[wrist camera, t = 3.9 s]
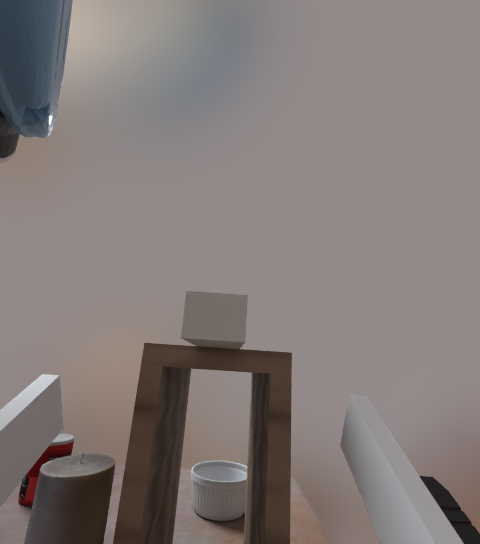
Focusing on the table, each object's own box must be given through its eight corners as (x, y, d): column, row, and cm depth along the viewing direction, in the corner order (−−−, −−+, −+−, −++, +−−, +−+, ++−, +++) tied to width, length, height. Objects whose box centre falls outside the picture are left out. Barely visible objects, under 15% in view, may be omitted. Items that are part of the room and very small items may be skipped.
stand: (287, 832, 19) (291, 352, 28) (69, 823, 19) (144, 342, 28) (256, 585, 40) (264, 356, 49) (153, 579, 40) (180, 351, 49)
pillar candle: (105, 558, 43) (122, 444, 48) (86, 612, 34) (109, 463, 38) (33, 563, 41) (58, 444, 46) (-8, 621, 32) (28, 464, 37)
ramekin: (228, 490, 69) (230, 457, 71) (265, 515, 59) (266, 475, 61) (176, 502, 62) (180, 464, 64) (208, 532, 52) (212, 486, 54)
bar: (244, 342, 18) (247, 295, 19) (180, 337, 18) (186, 291, 19) (235, 354, 45) (236, 334, 46) (209, 352, 45) (211, 332, 46)
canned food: (27, 490, 63) (41, 432, 66) (68, 489, 64) (79, 433, 67) (8, 507, 55) (25, 441, 59) (54, 506, 57) (68, 442, 60)
